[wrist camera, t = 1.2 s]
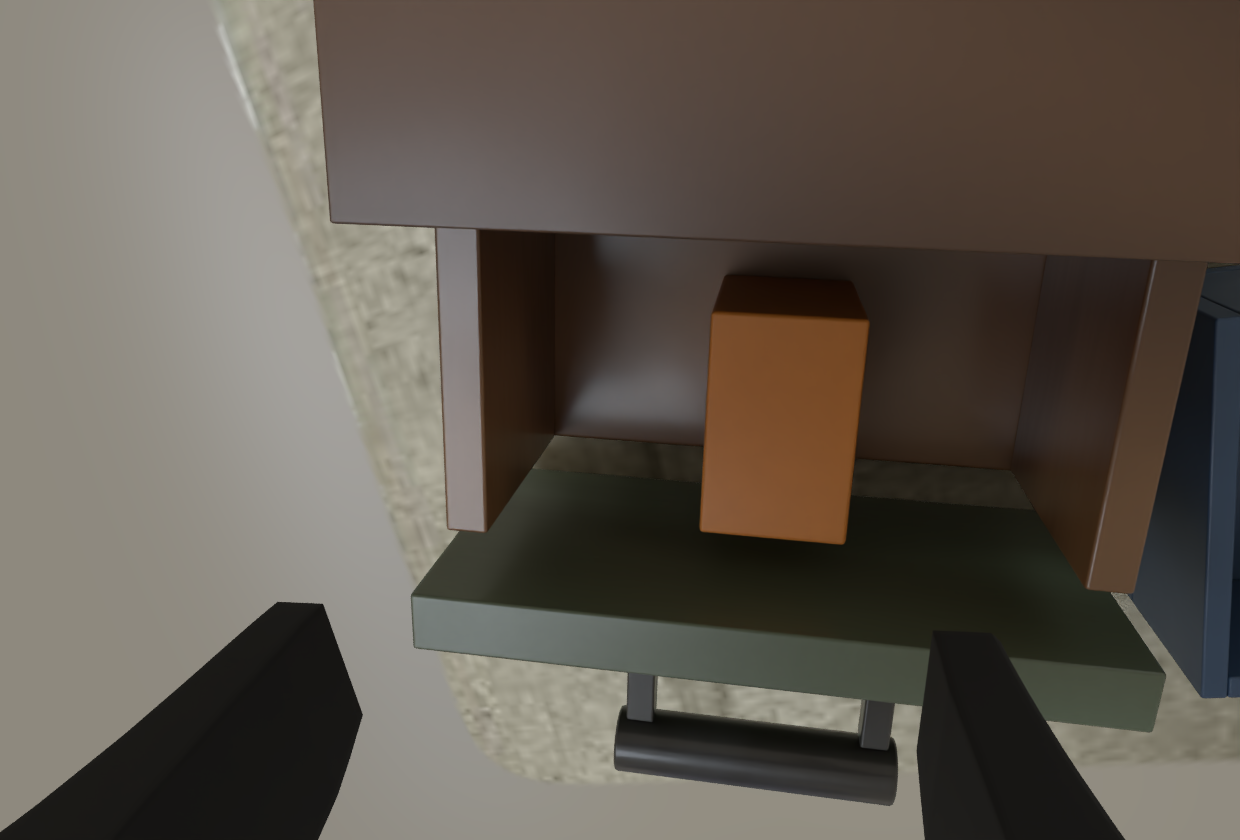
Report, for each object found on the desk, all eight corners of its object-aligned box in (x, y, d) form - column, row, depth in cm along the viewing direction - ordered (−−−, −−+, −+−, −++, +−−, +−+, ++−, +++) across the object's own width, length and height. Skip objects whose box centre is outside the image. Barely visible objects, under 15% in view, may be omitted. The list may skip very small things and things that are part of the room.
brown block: (834, 470, 21) (845, 546, 18) (712, 460, 22) (698, 532, 18) (853, 280, 20) (870, 319, 16) (723, 274, 20) (710, 310, 17)
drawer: (1020, 701, 24) (1108, 918, 17) (511, 643, 26) (422, 820, 19) (1155, -12, 18) (1353, -77, 12) (499, -15, 20) (371, -72, 14)
